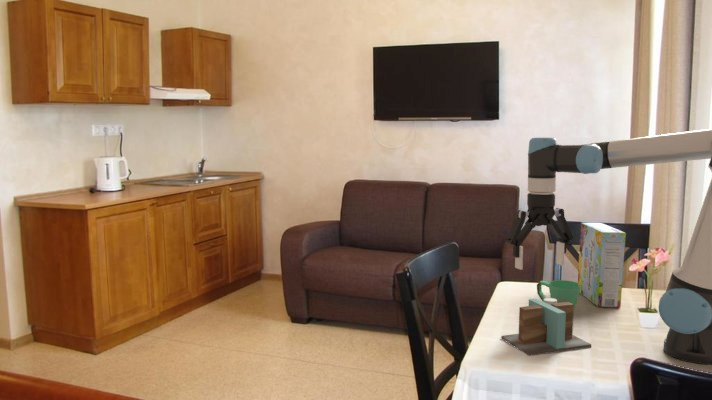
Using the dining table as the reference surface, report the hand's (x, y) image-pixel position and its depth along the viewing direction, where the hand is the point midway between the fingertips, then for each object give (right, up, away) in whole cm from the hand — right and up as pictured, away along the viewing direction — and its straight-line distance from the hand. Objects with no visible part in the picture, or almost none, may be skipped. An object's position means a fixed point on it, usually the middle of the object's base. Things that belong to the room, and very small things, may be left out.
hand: (539, 266), depth 182 cm
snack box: (+33, -16, +42) cm, 55 cm away
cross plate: (+1, -21, -1) cm, 21 cm away
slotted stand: (+1, -21, -1) cm, 21 cm away
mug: (+13, -18, +26) cm, 35 cm away
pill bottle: (+7, -20, +13) cm, 24 cm away
